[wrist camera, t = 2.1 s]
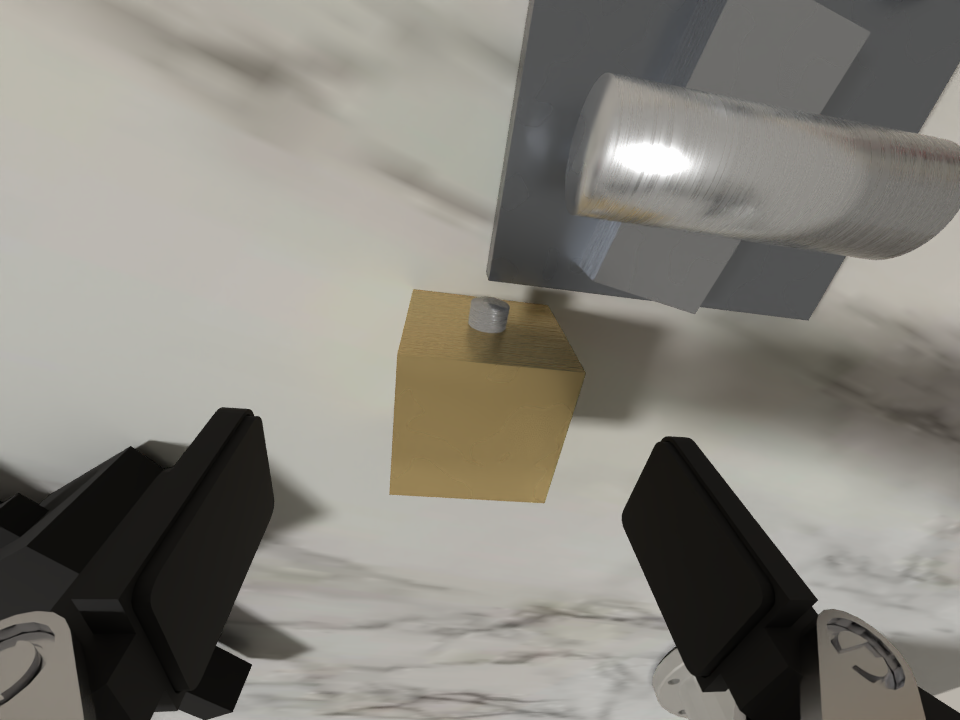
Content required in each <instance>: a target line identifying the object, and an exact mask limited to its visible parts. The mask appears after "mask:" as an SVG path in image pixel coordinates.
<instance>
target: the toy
mask: <svg viewBox="0 0 960 720" xmlns="http://www.w3.org/2000/svg"><path fill="white" fill-rule="evenodd" d="M162 471H164V469H162V468H161V467H159V466H158V465H157V464H155V463H154V462H152V461H151V460H150V459H148V458H147V457H145V456H144V455H143V454H141V453H140V452H138V451H137V450H136V449H134V448H133V447H131V446H130V447H129V448H127V449H125V450H124V451H122V452H120V453H119V454H117V455H115V456H114V457H112V458H110V459H109V460H107V461H105V462H103V463H102V464H100V465H98V466H97V467H95V468H93V469H92V470H90V471H88V472H87V473H85V474H83V475H82V476H80V477H78V478H77V479H75V480H73V481H72V482H70V483H68V484H67V485H65V486H63V487H62V488H60V489H58V490H57V491H55V492H53V493H52V494H50V495H49V496H48V497H47V498H46V499H45V500H44V501H42V502H41V503H40V504H37V503H35V502H33V501H32V500H30V499H28V498H26V497H25V496H23V495H21V494H19V493H18V494H17V495H15V496H13V497H12V498H10V499H9V500H7V501H5V502H2V501H0V621H1V620H4V619H6V618H9V617H12V616H14V615H18V614H23V613H29V612H34V611H43V612H49V611H50V610H51V609H52V608H53V606H54V605H55V604H56V603H57V601H58V600H59V599H60V598H61V596H62V595H63V594H64V593H65V591H66V590H67V589H68V588H69V586H70V585H71V584H72V583H73V581H74V580H75V579H76V578H77V576H78V575H79V574H80V573H81V571H82V570H83V569H84V568H85V566H86V565H87V564H88V563H89V561H90V560H91V559H92V557H93V556H94V555H95V554H96V552H97V551H98V550H99V549H100V547H101V546H102V545H103V544H104V542H105V541H106V540H107V539H108V537H109V536H110V535H111V534H112V532H113V531H114V530H115V529H116V527H117V526H118V525H119V524H120V522H121V521H122V520H123V519H124V517H125V516H126V515H127V514H128V512H129V511H130V510H131V509H132V507H133V506H134V505H135V504H136V502H137V501H138V500H139V499H140V497H141V496H142V495H143V493H144V492H145V491H146V490H147V488H148V487H149V486H150V485H151V483H152V482H153V481H154V480H155V478H156V477H157V476H158V475H159V474H160V473H161V472H162ZM251 666H252V664H250V663H248V662H246V661H244V660H242V659H240V658H238V657H236V656H235V655H233V654H231V653H229V652H227V651H225V650H223V649H221V648H219V647H217V646H215V649H214V651H213V653H212V656H211V658H210V660H209V663H208V665H207V667H206V670H205V672H204V674H203V677H202V679H201V681H200V683H199V684H198V686H197V687H196V688H195V689H194V690H192V691H186V693H185V695H184V697H183V700H182V702H181V704H180V706H179V710H181V711H184V712H186V713H188V714H191V715H193V716H196V717H198V718H201V719H203V720H207V719H211V718H214V717H218V716H221V715H224V714H228V713H231V712H233V710H234V708H235V705H236V703H237V700H238V698H239V695H240V693H241V691H242V688H243V686H244V683H245V681H246V678H247V676H248V674H249V671H250V669H251Z"/></svg>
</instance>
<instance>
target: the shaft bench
mask: <svg viewBox="0 0 960 720" xmlns="http://www.w3.org/2000/svg"><path fill="white" fill-rule="evenodd" d="M959 62H960V0H529V6H528V12H527V18H526V25H525V31H524V37H523V44H522V50H521V56H520V63H519V69H518V75H517V81H516V88H515V94H514V100H513V107H512V113H511V119H510V125H509V132H508V138H507V144H506V151H505V157H504V163H503V170H502V176H501V182H500V188H499V195H498V201H497V207H496V214H495V220H494V226H493V232H492V239H491V245H490V251H489V258H488V264H487V270H486V272H487V276H488V280H489V281H497V282H505V283H513V284H521V285H529V286H537V287H545V288H553V289H561V290H569V291H577V292H585V293H593V294H601V295H609V296H617V297H625V298H633V299H641V300H649V301H656V302H659V303H662V304H665V305H668V306H671V307H674V308H677V309H680V310H683V311H687V312H690V313H693V314H695V313H696V312H697V310H698V309H699V307H705V308H713V309H721V310H729V311H737V312H745V313H753V314H761V315H769V316H777V317H785V318H793V319H801V320H809V318H810V317H811V315H812V313H813V311H814V310H815V308H816V306H817V305H818V303H819V301H820V300H821V298H822V296H823V294H824V293H825V291H826V289H827V288H828V286H829V284H830V282H831V281H832V279H833V277H834V276H835V274H836V272H837V270H838V269H839V267H840V265H841V264H842V262H843V260H844V259H845V257H846V256H849V257H856V258H862V259H869V260H884V259H889V258H894V257H897V256H901V255H903V254H906V253H908V252H910V251H912V250H914V249H916V248H918V247H920V246H922V245H923V244H925V243H926V242H928V241H929V240H930V239H932V238H933V237H934V236H936V235H937V234H938V233H939V232H940V231H941V230H942V229H944V227H945V226H946V225H947V224H948V223H949V222H950V221H951V220H952V219H953V217H954V216H955V215H956V213H957V212H958V210H959V209H960V146H959V145H958V144H956V143H954V142H952V141H950V140H946V139H942V138H937V137H932V136H927V135H922V134H918V132H919V131H920V129H921V127H922V125H923V124H924V122H925V120H926V119H927V117H928V115H929V113H930V112H931V110H932V108H933V107H934V105H935V103H936V101H937V100H938V98H939V96H940V95H941V93H942V91H943V90H944V88H945V86H946V84H947V83H948V81H949V79H950V78H951V76H952V74H953V72H954V71H955V69H956V67H957V66H958V64H959Z"/></svg>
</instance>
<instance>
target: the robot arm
mask: <svg viewBox="0 0 960 720" xmlns="http://www.w3.org/2000/svg"><path fill="white" fill-rule="evenodd" d="M273 508H274V495H273V489H272V482H271V476H270V469H269V463H268V457H267V450H266V444H265V437H264V431H263V424H262V419H261V418H260V417H259V416H254V414H253V412H252V410H250V409H240V408H225V407H222V408H219V409H218V410H217V411H216V412H215V414H214V415H213V416H212V418H211V419H210V420H209V421H208V423H207V424H206V425H205V427H204V428H203V429H202V430H201V432H200V433H199V434H198V436H197V437H196V438H195V440H194V441H193V442H192V443H191V445H190V446H189V447H188V449H187V450H186V451H185V453H184V454H183V455H182V456H181V458H180V459H179V460H178V462H177V463H176V464H175V465H174V467H173V468H168V469H166V470H164V471H162V472H161V473H160V474H159V475H158V476H157V477H156V478H155V480H154V481H153V482H152V483H151V485H150V486H149V487H148V488H147V490H146V491H145V492H144V493H143V495H142V496H141V497H140V499H139V500H138V501H137V502H136V504H135V505H134V506H133V507H132V509H131V510H130V511H129V512H128V514H127V515H126V516H125V517H124V519H123V520H122V521H121V522H120V524H119V525H118V526H117V527H116V529H115V530H114V531H113V532H112V534H111V535H110V536H109V537H108V539H107V540H106V541H105V542H104V544H103V545H102V546H101V547H100V549H99V550H98V551H97V552H96V554H95V555H94V556H93V557H92V559H91V560H90V561H89V563H88V564H87V565H86V566H85V568H84V569H83V570H82V571H81V573H80V574H79V575H78V576H77V578H76V579H75V580H74V581H73V583H72V584H71V585H70V586H69V588H68V589H67V590H66V591H65V593H64V594H63V595H62V596H61V598H60V599H59V600H58V601H57V603H56V604H55V605H54V606H53V608H52V609H51V610H50V611H49V612H43V611H34V612H29V613H23V614H18V615H14V616H12V617H9V618H6V619H4V620H1V621H0V720H150V719H151V717H152V715H153V713H154V712H164V711H178V709H179V706H180V704H181V702H182V700H183V697H184V695H185V693H186V691H192V690H194V689H195V688H196V687H197V686H198V684H199V683H200V681H201V679H202V677H203V674H204V672H205V670H206V667H207V665H208V663H209V660H210V658H211V656H212V653H213V651H214V649H215V646H216V644H217V642H218V639H219V637H220V635H221V632H222V630H223V628H224V625H225V623H226V621H227V618H228V616H229V614H230V611H231V609H232V607H233V605H234V602H235V600H236V598H237V595H238V593H239V591H240V588H241V586H242V584H243V581H244V579H245V577H246V574H247V572H248V570H249V567H250V565H251V563H252V560H253V558H254V556H255V553H256V551H257V549H258V546H259V544H260V542H261V539H262V537H263V535H264V532H265V530H266V528H267V525H268V523H269V521H270V518H271V516H272V513H273ZM622 524H623V527H624V530H625V532H626V534H627V536H628V539H629V541H630V543H631V545H632V548H633V550H634V552H635V554H636V557H637V559H638V561H639V563H640V566H641V568H642V570H643V572H644V575H645V577H646V579H647V581H648V584H649V586H650V588H651V590H652V593H653V595H654V597H655V599H656V602H657V604H658V606H659V608H660V611H661V613H662V615H663V617H664V620H665V622H666V624H667V627H668V629H669V631H670V633H671V636H672V638H673V640H674V642H675V645H676V647H677V649H675V650H674V651H672V652H671V653H670V654H669V655H668V656H667V657H665V658H664V659H663V660H662V662H661V663H660V664H659V665H658V667H657V668H656V671H655V673H654V675H653V680H652V685H653V688H654V691H655V694H656V697H657V700H658V702H659V703H660V705H661V706H662V707H663V708H664V709H666V710H667V711H668V712H670V713H672V714H675V715H677V716H680V717H685V718H688V719H689V720H960V713H959V712H957V711H956V710H954V709H952V708H951V707H949V706H948V705H946V704H945V703H943V702H941V701H940V700H938V699H937V698H935V697H934V696H932V695H930V694H929V693H927V692H926V691H924V690H923V689H921V688H920V687H918V686H917V682H916V680H915V677H914V675H913V672H912V670H911V668H910V666H909V665H908V663H907V662H906V660H905V659H904V658H903V656H902V655H901V653H900V652H899V651H898V650H897V649H896V648H895V647H894V646H893V645H892V644H891V642H890V641H889V640H888V639H887V638H885V637H884V636H883V635H882V634H881V633H879V632H878V631H877V630H876V629H875V628H873V627H872V626H870V625H869V624H867V623H866V622H864V621H863V620H861V619H860V618H858V617H856V616H853V615H851V614H849V613H847V612H844V611H840V610H835V609H829V610H823V611H822V612H821V613H820V614H819V615H818V614H817V613H816V611H815V610H814V609H813V607H812V606H813V605H814V604H815V603H816V602H817V601H818V599H817V598H816V597H815V596H814V594H813V593H812V592H811V591H810V589H809V588H808V587H807V585H806V584H805V583H804V582H803V580H802V579H801V578H800V576H799V575H798V574H797V573H796V571H795V570H794V569H793V567H792V566H791V565H790V564H789V562H788V561H787V560H786V559H785V557H784V556H783V555H782V553H781V552H780V551H779V550H778V548H777V547H776V546H775V544H774V543H773V542H772V541H771V539H770V538H769V537H768V535H767V534H766V533H765V532H764V530H763V529H762V528H761V526H760V525H759V524H758V523H757V521H756V520H755V519H754V518H753V516H752V515H751V514H750V512H749V511H748V510H747V509H746V507H745V506H744V505H743V503H742V502H741V501H740V500H739V498H738V497H737V496H736V494H735V493H734V492H733V491H732V489H731V488H730V487H729V486H728V484H727V483H726V482H725V480H724V479H723V478H722V477H721V475H720V474H719V473H718V471H717V470H716V469H715V468H714V466H713V465H712V464H711V462H710V461H709V460H708V459H707V457H706V456H705V455H704V453H703V452H702V451H701V450H700V448H699V447H698V446H697V445H696V443H695V442H694V441H693V440H692V439H690V438H685V437H670V436H668V437H664V438H663V439H662V440H661V442H658V443H656V445H655V446H654V448H653V450H652V452H651V455H650V457H649V459H648V461H647V463H646V465H645V467H644V469H643V471H642V473H641V475H640V477H639V479H638V481H637V483H636V485H635V487H634V490H633V492H632V494H631V496H630V498H629V500H628V502H627V504H626V506H625V508H624V510H623V513H622Z"/></svg>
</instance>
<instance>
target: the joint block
mask: <svg viewBox="0 0 960 720" xmlns="http://www.w3.org/2000/svg"><path fill="white" fill-rule="evenodd" d="M585 374H586V373H585V371H584V369H583V367H582V365H581V364H580V362H579V360H578V358H577V357H576V355H575V353H574V351H573V349H572V348H571V346H570V344H569V342H568V340H567V339H566V337H565V335H564V333H563V332H562V330H561V328H560V326H559V324H558V323H557V321H556V319H555V317H554V315H553V314H552V312H551V310H550V308H549V307H548V305H541V304H532V303H524V302H516V301H507V300H500V299H497V298H492V297H474V296H465V295H457V294H449V293H440V292H432V291H423V290H415V289H413V293H412V297H411V301H410V305H409V309H408V313H407V317H406V321H405V325H404V329H403V333H402V338H401V342H400V346H399V350H398V354H397V369H396V387H395V405H394V423H393V441H392V459H391V476H390V494H389V495H407V496H425V497H443V498H461V499H479V500H497V501H515V502H533V503H545V500H546V497H547V493H548V490H549V487H550V484H551V481H552V478H553V475H554V472H555V468H556V465H557V462H558V459H559V456H560V453H561V450H562V447H563V443H564V440H565V437H566V434H567V431H568V428H569V425H570V421H571V418H572V415H573V412H574V409H575V406H576V403H577V400H578V396H579V393H580V390H581V387H582V384H583V381H584V378H585Z"/></svg>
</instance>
